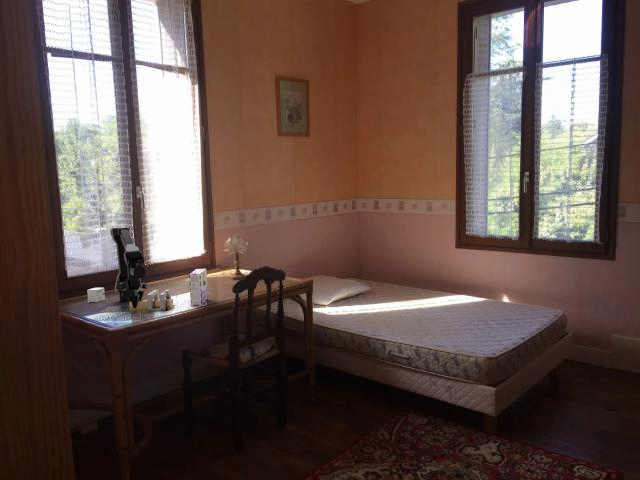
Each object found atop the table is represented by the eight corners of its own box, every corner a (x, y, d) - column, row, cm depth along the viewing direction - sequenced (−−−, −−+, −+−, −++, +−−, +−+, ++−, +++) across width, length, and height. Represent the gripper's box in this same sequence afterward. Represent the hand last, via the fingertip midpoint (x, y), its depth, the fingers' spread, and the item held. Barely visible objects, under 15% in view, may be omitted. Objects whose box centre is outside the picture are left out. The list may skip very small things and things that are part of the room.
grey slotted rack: (108, 308, 268) (106, 290, 267) (175, 306, 267) (174, 289, 266) (97, 314, 256) (96, 296, 255) (168, 313, 255) (167, 294, 254)
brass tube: (133, 307, 263) (132, 299, 263) (173, 306, 263) (172, 298, 262) (129, 309, 259) (129, 301, 259) (170, 308, 259) (170, 300, 258)
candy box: (197, 299, 281) (195, 268, 279) (208, 299, 281) (207, 268, 279) (190, 306, 268) (188, 273, 266) (202, 305, 268) (200, 273, 265)
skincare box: (97, 304, 278) (96, 290, 277) (87, 303, 280) (86, 289, 279) (105, 301, 284) (104, 287, 283) (96, 300, 286) (95, 287, 285)
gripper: (125, 272, 269) (127, 302, 271) (109, 279, 250) (112, 312, 252) (147, 271, 268) (149, 302, 270) (133, 279, 250) (135, 311, 252)
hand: (136, 307), depth 261 cm, fingers closed on brass tube, 4 cm apart
